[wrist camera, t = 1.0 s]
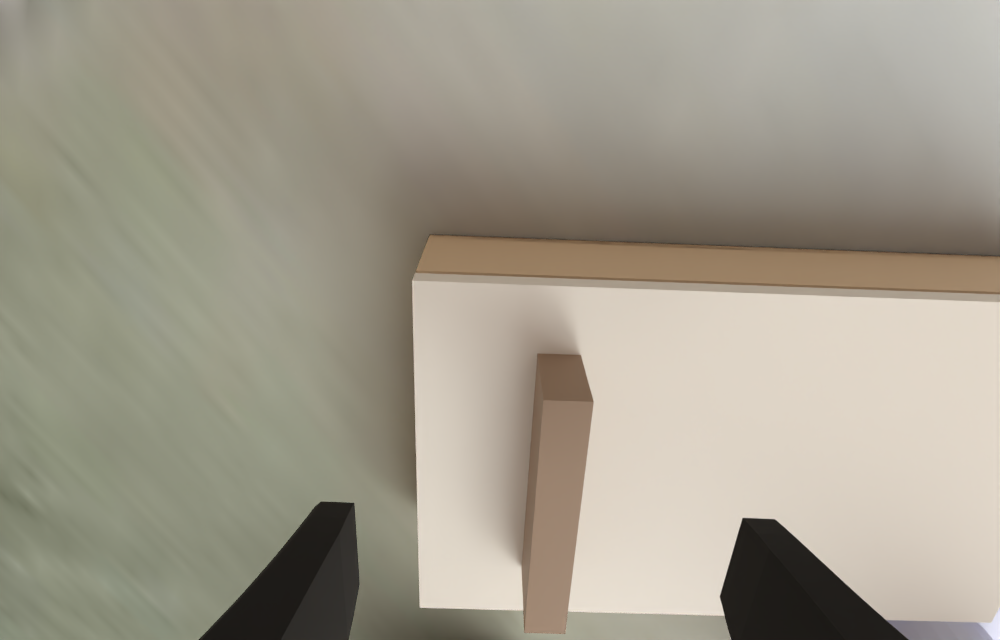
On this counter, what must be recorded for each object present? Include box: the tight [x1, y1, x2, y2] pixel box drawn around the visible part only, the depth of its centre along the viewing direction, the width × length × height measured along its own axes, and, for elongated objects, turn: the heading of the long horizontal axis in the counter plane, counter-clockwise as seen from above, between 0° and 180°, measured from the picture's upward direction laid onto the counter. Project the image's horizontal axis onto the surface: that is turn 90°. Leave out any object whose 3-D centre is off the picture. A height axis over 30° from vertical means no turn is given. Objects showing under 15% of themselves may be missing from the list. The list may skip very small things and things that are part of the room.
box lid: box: [412, 273, 1000, 634], centre depth 17 cm, size 12×20×3 cm, turn 88°
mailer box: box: [416, 235, 1000, 294], centre depth 20 cm, size 12×20×4 cm, turn 88°
